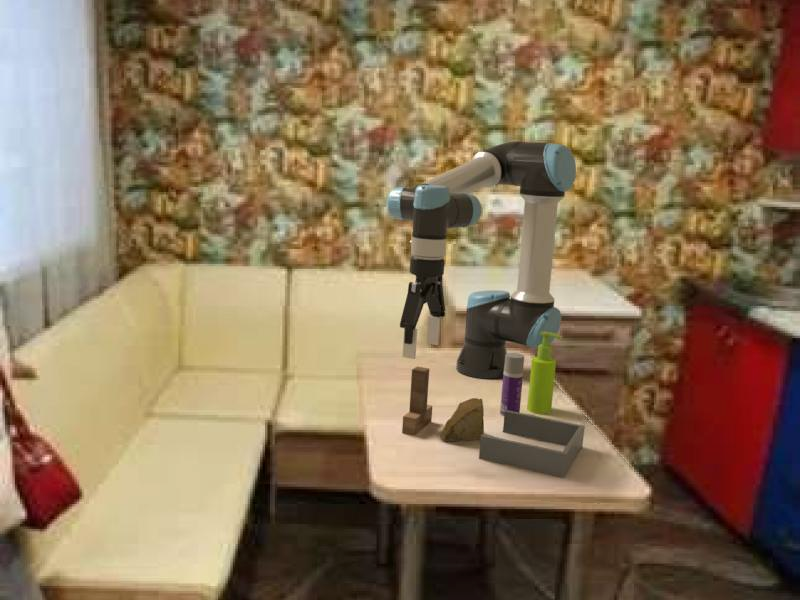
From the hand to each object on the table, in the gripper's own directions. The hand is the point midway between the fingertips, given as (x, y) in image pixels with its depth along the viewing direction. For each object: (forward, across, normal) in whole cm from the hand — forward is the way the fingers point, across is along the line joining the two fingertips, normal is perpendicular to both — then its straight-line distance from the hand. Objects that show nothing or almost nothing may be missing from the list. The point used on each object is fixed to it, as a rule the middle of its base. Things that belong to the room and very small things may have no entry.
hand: (421, 350), depth 177 cm
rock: (+18, 0, +11) cm, 22 cm away
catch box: (+18, 0, +27) cm, 33 cm away
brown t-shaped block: (+18, 0, 0) cm, 18 cm away
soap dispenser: (+18, -28, +22) cm, 40 cm away
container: (+18, -20, +16) cm, 32 cm away
